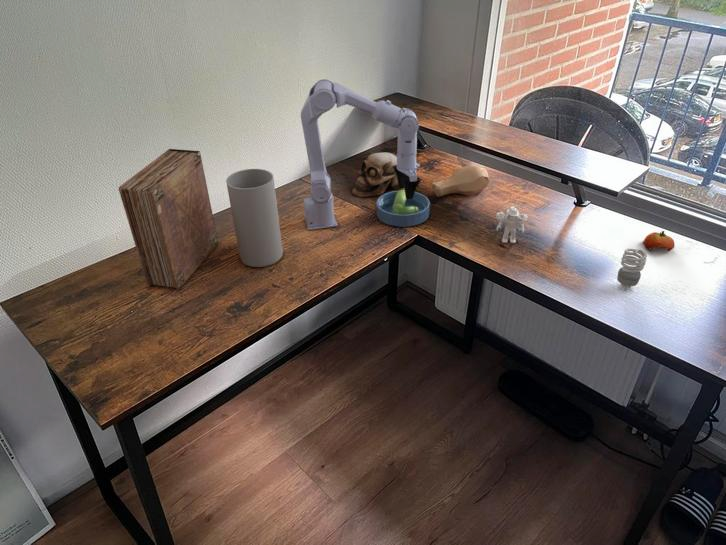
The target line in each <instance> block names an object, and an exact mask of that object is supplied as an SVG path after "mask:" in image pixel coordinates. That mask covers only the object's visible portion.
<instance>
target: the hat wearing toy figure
mask: <svg viewBox="0 0 726 545" xmlns="http://www.w3.org/2000/svg"><path fill="white" fill-rule="evenodd" d="M523 207H524V204H520V205H516V207H515V206H511V207H509V208H508V209H507V210H506V214H505V212H504V211H502V210H501V211H498V212H497V213H496V215H495V216H496V217H495V219H497V220H498V224H497V225H496V228H495V229H496V231H497V232H499V229H500V230H502V225H503V224H504V225H505V227H504V230H503V235H502V238H501V242H502V244H507V243H508V240H509V242H510V244H516V242H517V240H516V234H517V233H516V232H517V225H518V226H519V229H518V232H520V231H521V234H524V233H525V226H524V224H525V223H527V222H528V214H527V213H520V211H519V210H520V209H522V208H523ZM509 233H510V237H509Z"/></svg>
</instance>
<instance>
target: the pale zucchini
mask: <svg viewBox="0 0 726 545" xmlns="http://www.w3.org/2000/svg"><path fill="white" fill-rule="evenodd" d="M397 191H398V192H397V193H396V197H395V200H394V204H393V210H394V209H395V208H401V207H404V205H405V201H406V196H405V188H401V189H399V190H397Z"/></svg>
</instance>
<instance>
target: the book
mask: <svg viewBox="0 0 726 545" xmlns="http://www.w3.org/2000/svg"><path fill="white" fill-rule="evenodd" d="M207 184H208V183H207V180H206V174H205V170H204V164H203V160H202V154H201V150H192V149H191V150H190V149H178V148H177V149H176V148H168V149H167V150H166V151H164V152H163V153H162V154H160V155H159V156H158V157H156V158H155V159H154V160H152V162H150V163H149V164H147V165H146V166H145V167H143V168H142V169H141V170H139V171H138V172H137V173H136V174H134V175H132V176H131V177H130V178H129V179H127V180H126V181H125V182H123V183H122V184H121V185H120V186H118V192H119V195H120V199H121V202H122V206H123V209H124V212H125V216H126V219H127V223H128V225H129V230H130V232H131V235H132V239H133V243H134V246H135V249H136V252H137V256H138V259H139V262H140V266H141V270H142V273H143V276H144V280H145V283H146V286H147V287H148V288H150V287H151V286H152V285H153V286H159V287H167V288H175V289H176V291H180V290H181V289H182V287H183V286H184V285H185V284H186V282H187V281H188V280H189V279H190V278H191V277H192V275H193V274H194V273H195V271H197V269H198V268H199V266H200V265H202V263H203V262H204V261H205V259H207V257H208V256H209V255H210V253H212V251H213V250H214V249H215V248H216V246H217V245H218V244H219V238H218V233H217V229H216V223H215V218H214V214H213V208H212V204H211V199H210V193H209V190H208V185H207Z"/></svg>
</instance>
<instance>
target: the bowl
mask: <svg viewBox="0 0 726 545" xmlns="http://www.w3.org/2000/svg"><path fill="white" fill-rule="evenodd" d="M398 191H399V190H393V191H388V192H386V193H383V194H382V195H380V196H379V197H377V200H376V202H375V203H376V204H375V208H376V213H375V214H376V217H377V219H378V220H379V221H381V222H382V223H384V224H386V225H389V226H392V227H400V228H402V227H403V228H404V227H413V226H418V225H420V224H422V223H424V222H426V221H427V220H428V219H429V217H430V211H431V202H430V201H431V200H430V199H429V198H428V197H427V196H426V195H424V194H422V193H420V192H417V191H415V194H414V197H413V199H406V201H405V205H404V207H408V206H416V207H418V209H419V212H418V213H414V214H408V215H399V214H392V211H393V204H394V200H395V197H396V193H397V192H398Z"/></svg>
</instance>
